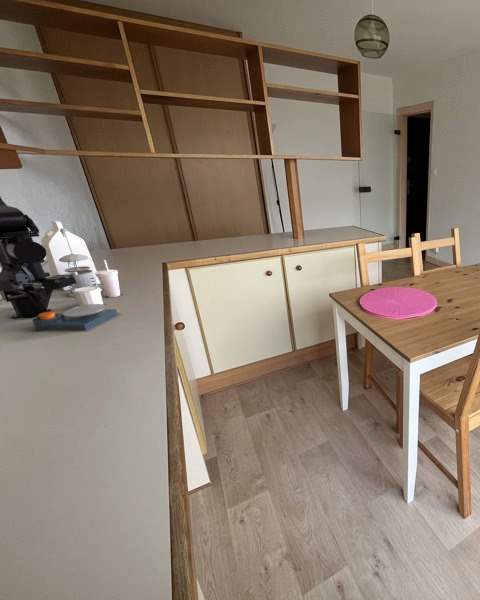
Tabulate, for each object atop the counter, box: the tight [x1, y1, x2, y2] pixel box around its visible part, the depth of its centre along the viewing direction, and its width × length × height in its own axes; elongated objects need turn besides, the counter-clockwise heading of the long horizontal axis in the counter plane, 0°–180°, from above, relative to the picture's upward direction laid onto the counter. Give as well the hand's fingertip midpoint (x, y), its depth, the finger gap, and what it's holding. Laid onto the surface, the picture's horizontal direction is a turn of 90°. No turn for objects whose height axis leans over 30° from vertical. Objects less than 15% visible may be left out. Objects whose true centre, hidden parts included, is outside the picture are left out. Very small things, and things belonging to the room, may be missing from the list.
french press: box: [59, 227, 103, 298], centre depth 119 cm, size 10×12×25 cm
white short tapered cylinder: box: [72, 285, 104, 306], centre depth 108 cm, size 7×7×7 cm
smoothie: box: [95, 259, 121, 298], centre depth 118 cm, size 6×6×14 cm
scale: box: [32, 308, 118, 331], centre depth 98 cm, size 14×13×4 cm
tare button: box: [37, 311, 56, 320], centre depth 93 cm, size 3×3×2 cm
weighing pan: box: [62, 303, 107, 317], centre depth 98 cm, size 10×10×1 cm
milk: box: [40, 220, 101, 291], centre depth 128 cm, size 12×12×26 cm
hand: (44, 309), depth 93 cm, fingers closed
